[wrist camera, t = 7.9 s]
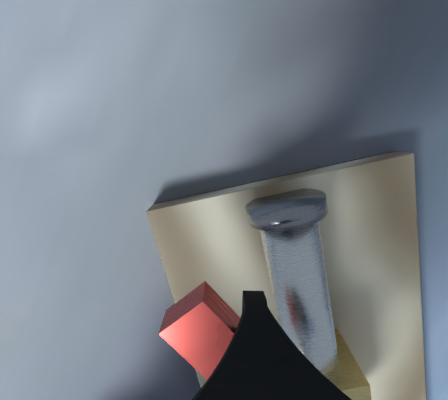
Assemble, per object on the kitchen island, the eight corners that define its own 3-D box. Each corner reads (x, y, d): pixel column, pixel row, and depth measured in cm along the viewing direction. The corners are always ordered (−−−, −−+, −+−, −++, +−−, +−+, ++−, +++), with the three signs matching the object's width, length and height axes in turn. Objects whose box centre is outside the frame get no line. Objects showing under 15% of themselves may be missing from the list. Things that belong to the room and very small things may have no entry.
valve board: (238, 490, 23) (239, 514, 22) (152, 204, 17) (146, 211, 16) (417, 462, 23) (430, 485, 21) (397, 151, 16) (413, 153, 15)
